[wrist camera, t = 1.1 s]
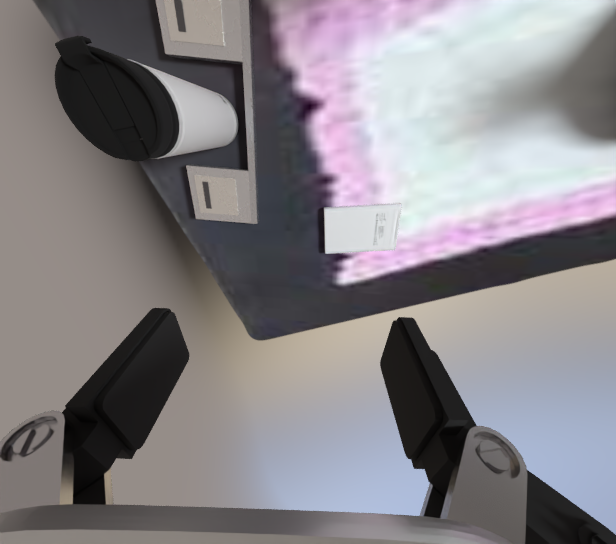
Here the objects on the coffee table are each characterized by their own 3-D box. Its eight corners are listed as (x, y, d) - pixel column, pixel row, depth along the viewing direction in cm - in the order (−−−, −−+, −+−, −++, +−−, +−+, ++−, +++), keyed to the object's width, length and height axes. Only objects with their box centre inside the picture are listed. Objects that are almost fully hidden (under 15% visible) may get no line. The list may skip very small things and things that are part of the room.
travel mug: (228, 83, 29) (115, 21, 12) (244, 142, 33) (172, 155, 16) (183, 94, 30) (16, 48, 13) (203, 150, 33) (92, 171, 16)
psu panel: (154, -46, 24) (143, -58, 22) (250, -35, 24) (246, -46, 23) (199, 215, 39) (195, 219, 37) (259, 220, 39) (256, 224, 37)
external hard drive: (323, 206, 38) (399, 201, 38) (324, 250, 42) (392, 247, 42) (324, 209, 37) (402, 204, 36) (325, 254, 41) (395, 251, 40)
